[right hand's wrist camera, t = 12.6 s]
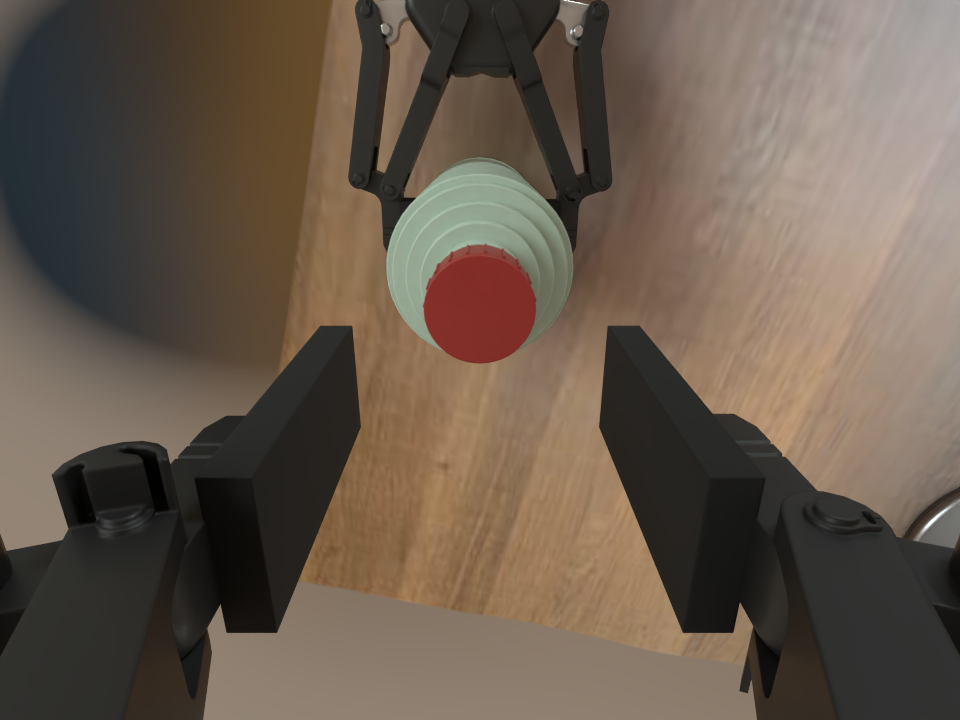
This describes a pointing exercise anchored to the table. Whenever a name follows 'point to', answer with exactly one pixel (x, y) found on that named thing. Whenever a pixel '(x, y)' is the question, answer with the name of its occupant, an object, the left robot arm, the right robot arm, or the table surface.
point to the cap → (479, 304)
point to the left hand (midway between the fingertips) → (479, 302)
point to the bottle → (479, 238)
